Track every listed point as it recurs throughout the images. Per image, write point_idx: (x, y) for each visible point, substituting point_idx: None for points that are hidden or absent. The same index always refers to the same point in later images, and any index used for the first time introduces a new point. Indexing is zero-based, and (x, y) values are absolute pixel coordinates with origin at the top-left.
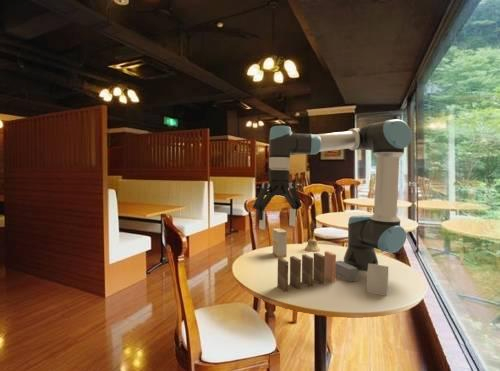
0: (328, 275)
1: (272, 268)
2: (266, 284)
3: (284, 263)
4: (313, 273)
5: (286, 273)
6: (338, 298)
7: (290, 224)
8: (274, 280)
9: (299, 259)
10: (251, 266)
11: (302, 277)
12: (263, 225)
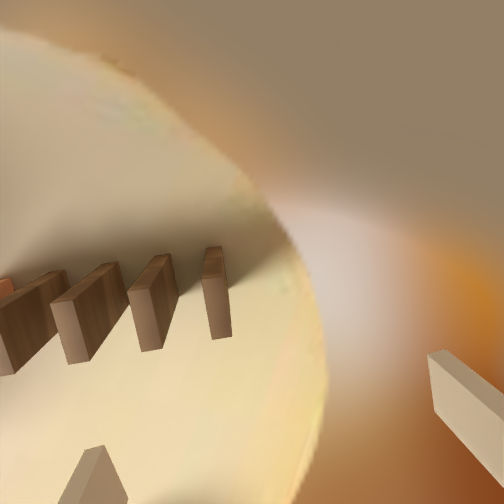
0: None
1: (189, 434)
2: (257, 312)
3: (222, 275)
4: None
5: (211, 263)
6: (49, 147)
7: (118, 494)
8: None
9: (132, 298)
10: (256, 462)
11: (122, 308)
12: (474, 372)
